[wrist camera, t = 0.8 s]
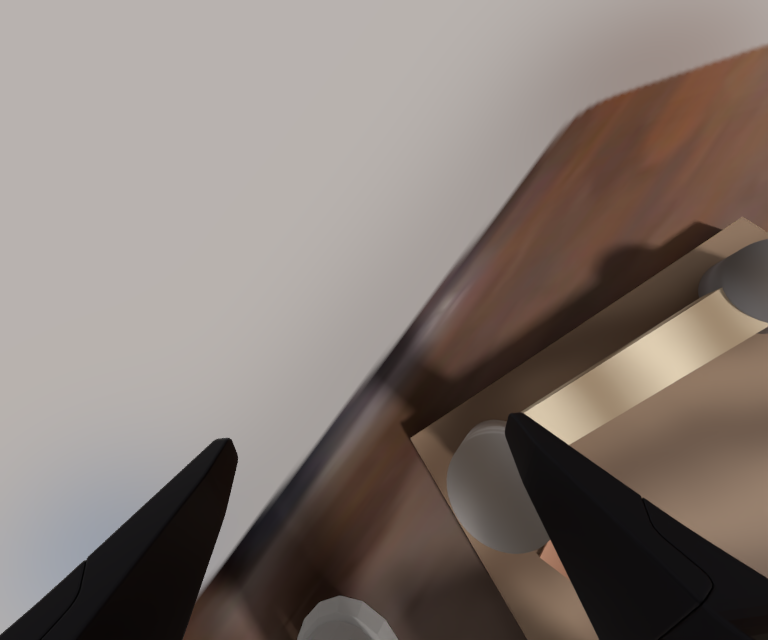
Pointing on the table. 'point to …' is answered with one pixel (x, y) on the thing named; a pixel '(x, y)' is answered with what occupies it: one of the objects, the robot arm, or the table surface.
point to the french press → (345, 622)
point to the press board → (638, 438)
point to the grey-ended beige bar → (606, 397)
